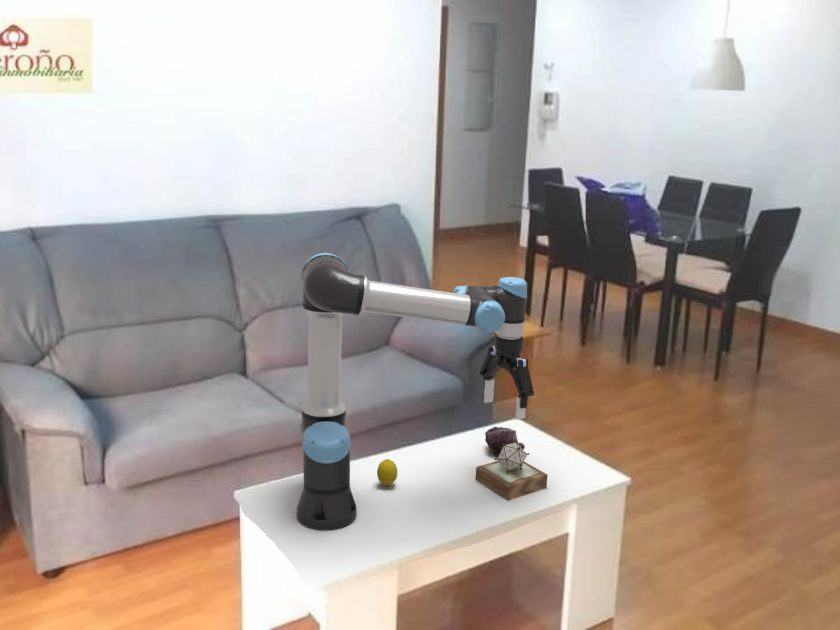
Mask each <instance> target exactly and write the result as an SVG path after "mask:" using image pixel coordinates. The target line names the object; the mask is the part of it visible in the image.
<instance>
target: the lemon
mask: <svg viewBox="0 0 840 630" xmlns="http://www.w3.org/2000/svg"><path fill="white" fill-rule="evenodd" d="M376 476H377V480H378V481H379V482H380V483H381V484H382V485H384V486H386V487H389V485H392V484H393V483H395V482H396V480H397V478H398V477H397V476H398V467H397V465H396V463H395V462H394V461H393V460H392V459H389V458H386V459H384V460H382V461H380V462H379V464H378V466H377V471H376Z"/></svg>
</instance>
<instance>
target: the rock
mask: <svg viewBox="0 0 840 630" xmlns="http://www.w3.org/2000/svg"><path fill="white" fill-rule="evenodd" d="M484 436H485V441H484V442H486V444H487V446H488V448H489V451H490V452H491V453H492V454H493V455H495V456H497V457H498V456H499V454H500V452H501V450H502V449H501V447H503V445H502V443H503V444H504V445H507V444H511V443H515V441H516V440H517V444H518V445H519V446H520V447H521V448H522V449H523V450H525V447H526V445H525V444H524V443H522V442H519V441H518V437H517V431H516V430H514V429H511V427H502V426H499V427H498V426H493V427H492V428H489V429H488V430H487V431H485V433H484Z"/></svg>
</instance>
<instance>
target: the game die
mask: <svg viewBox="0 0 840 630" xmlns="http://www.w3.org/2000/svg"><path fill="white" fill-rule="evenodd" d="M517 440H518V439H517ZM517 440H516V441H515V443H511V444H507V445H504V444H503V443H502V445H503V447H501V449H502V450H501V452H500V454H499V456H498V455H497V458H494V459H493V460H494V461H499V462H500V463H501V464H502V465H503V466H504V467H505V468H506V470H507V474H508V472H509V471H510V470H514V469H518V468H520V469H521V470H522V468H521V466H522V467H523V465H522V464H523V462H525V460H526V457H527V456H528V455H530V453H529V452H527V453H526V451H524V450H525V449H524V450H523V449H522V448H521V447H520V446H519V445H518V444H517Z"/></svg>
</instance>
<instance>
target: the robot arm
mask: <svg viewBox="0 0 840 630" xmlns="http://www.w3.org/2000/svg"><path fill="white" fill-rule="evenodd" d="M301 280H302V309H303V311H305V312H306V313H307V314H308V331H307V332H308V333H307V334H308V335H307V336H308V339H307V343H308V344H307V345H308V346H307V349H308V350H307V351H308V352H307V353H308V354H307V400H306V402H305V403H303V405H302V406H301V422H300V427H299V428H300V429H299V431H300V437H301V445H302V447H301V448H302V456H303V460H302V461H303V471H302V472H303V489H302V492H301V494H300V497H299V501H298V504H297V507H296V518H297V520H298V522H299V523H300V524H301V525H303V526H305V527H307V528H310V529H314V530H322V531H325V530H326V531H331V530H337V529H341V528H344V527H346V526H348V525H351V523H352V524H353V522H354V521H355V520H356V519H357V504H356V501H355V497H354V495H353V492H352V489H351V453H350V452H351V447H352V446H351V445H352V440H351V437H350V432H349V430H348V428H347V407H346V405H345V404H344V403H343V402H342V401H341V395H342V393H341V390H342V388H341V387H342V383H341V382H342V380H341V379H342V349H343V348H342V345H343V344H342V343H343V340H342V339H343V315H344V314H348V315H354V316H355V315H356V316H361V315H362V314H363V313H372V314H379V315H385V316H386V315H387V316H393V317H400V318H409V319H417V320H424V321H431V322H438V323H447V324H452V325H460V326H467V327H474V328H477V329H479V330H480V331H482V332H484V333H487V334H491V333H495V334H496V335H495V336H494V345H493V346H489V347H488V351H487V354H486V357H485V359H484V361H483V363H482V366H481V368H480V370H479V375H480V376H482V378H483V382H484V383H483V389H484V395H483V396H484V397H483V403H484V404H488V403H492V402H494V395H495V394H494V392H495V381H496V380H495V379H494V378H495V376H496V375H497V373H498V372H499V371H500V369H504V370H506V371H508V373H509V374H510V375H511V377H512V380H513V382H514V384H515V387H516V390H517V393H518V395H516V404H515V406H516V407H515V418H514V419H515V420H516V421H517V420H523V419H525V418H526V409H527V407H528V398H529V397H533V396H534V395H535V391H534V387H533V383H532V379H531V374H530V370H529V359H528V358H521V356H520V353H521V352H522V351H523V349H524V337H523V336H524V333H525V332H524V331H525V323H526V322H525V319H526V317H525V316H526V306H527V300H528V283H527V281H526V280H525V279H523V278H521V277H516V276H506V277H501V278H500V279H499V281H498V283H497V285H469V284H467V285H459V286H456V287H454V289H453V291H452V292H448V291H443V290H435V289H428V288H421V287H415V286H414V287H413V286H409V285H400V284H395V283H388V282H380V281H373V280H369V279H368V278H367V276H366V275H363V274H357V273H353V272H351V271H349V269H348V266H347V264H346V263H345V262H344V260H342V258H340V257H339V256H337V255H335V254H332V253H330V252H321V253H317V254H315V255H313V256H312V257H309V259H308V260H307V261H306V262H305V263H304V266H303V268H302V271H301Z"/></svg>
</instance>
